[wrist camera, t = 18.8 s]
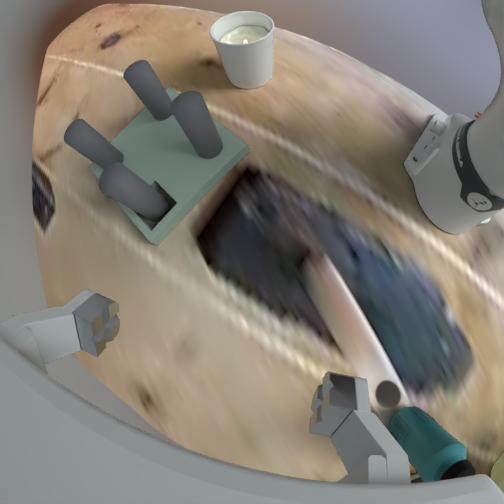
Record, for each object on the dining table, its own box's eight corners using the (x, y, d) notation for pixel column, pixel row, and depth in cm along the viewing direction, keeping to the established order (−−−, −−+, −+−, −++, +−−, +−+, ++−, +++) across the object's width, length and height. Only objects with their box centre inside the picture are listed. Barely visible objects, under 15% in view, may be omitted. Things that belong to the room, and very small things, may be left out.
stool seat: (96, 171, 46) (48, 140, 32) (172, 94, 46) (143, 45, 32) (157, 245, 42) (106, 226, 28) (249, 151, 43) (234, 97, 29)
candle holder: (242, 101, 44) (230, 53, 32) (214, 72, 46) (198, 27, 34) (288, 77, 44) (287, 28, 32) (257, 50, 45) (250, 5, 34)
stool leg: (156, 193, 43) (110, 158, 30) (176, 203, 43) (133, 168, 29) (144, 215, 43) (93, 187, 29) (163, 226, 42) (114, 200, 29)
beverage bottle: (376, 422, 35) (426, 495, 15) (408, 393, 35) (477, 448, 15) (396, 443, 34) (446, 512, 14) (426, 415, 34) (491, 471, 14)
